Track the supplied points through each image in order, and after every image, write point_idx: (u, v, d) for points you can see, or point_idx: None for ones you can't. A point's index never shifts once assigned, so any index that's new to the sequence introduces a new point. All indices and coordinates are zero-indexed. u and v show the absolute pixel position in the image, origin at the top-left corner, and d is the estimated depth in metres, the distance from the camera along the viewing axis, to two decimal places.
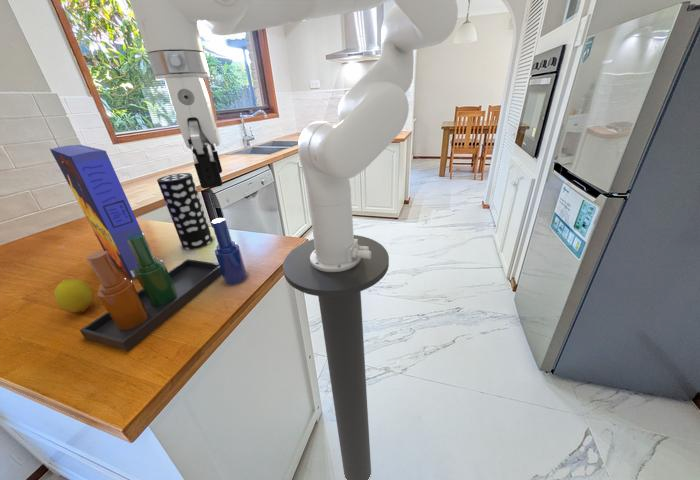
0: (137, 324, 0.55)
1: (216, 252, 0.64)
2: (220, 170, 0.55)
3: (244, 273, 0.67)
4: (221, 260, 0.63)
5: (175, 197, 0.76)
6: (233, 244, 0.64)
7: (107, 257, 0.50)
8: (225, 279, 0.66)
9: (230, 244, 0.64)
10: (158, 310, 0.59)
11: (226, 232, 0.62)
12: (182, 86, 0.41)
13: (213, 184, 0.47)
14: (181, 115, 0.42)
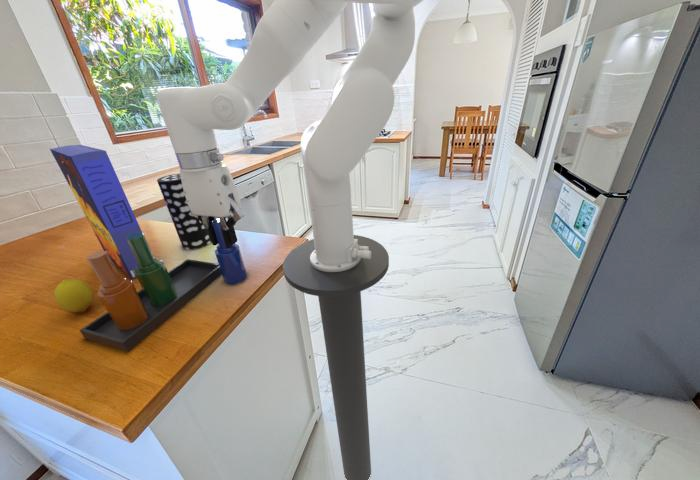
0: (137, 324, 0.55)
1: (216, 252, 0.64)
2: None
3: (244, 273, 0.67)
4: (221, 260, 0.63)
5: (175, 197, 0.76)
6: (233, 244, 0.64)
7: (107, 257, 0.50)
8: (225, 279, 0.66)
9: None
10: (158, 310, 0.59)
11: None
12: (222, 173, 0.55)
13: (233, 242, 0.64)
14: (224, 193, 0.56)
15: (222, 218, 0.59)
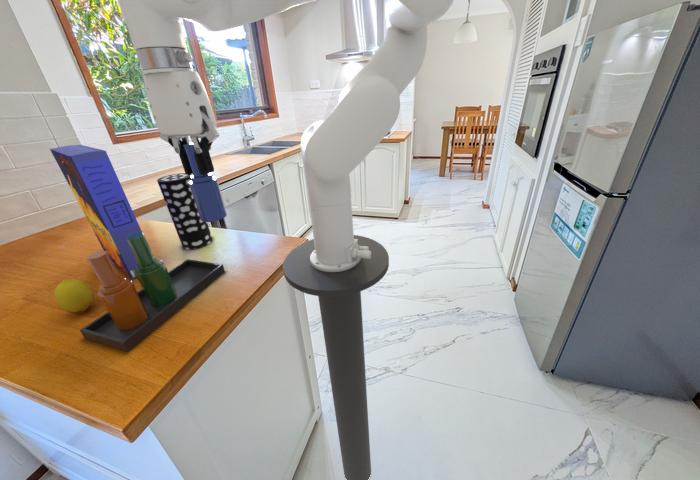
0: (137, 324, 0.55)
1: (190, 182, 0.56)
2: None
3: (223, 210, 0.60)
4: (195, 191, 0.56)
5: (175, 197, 0.76)
6: (209, 174, 0.57)
7: (107, 257, 0.50)
8: (201, 215, 0.59)
9: None
10: (158, 310, 0.59)
11: None
12: (192, 79, 0.48)
13: (209, 170, 0.56)
14: (195, 103, 0.48)
15: (194, 137, 0.52)
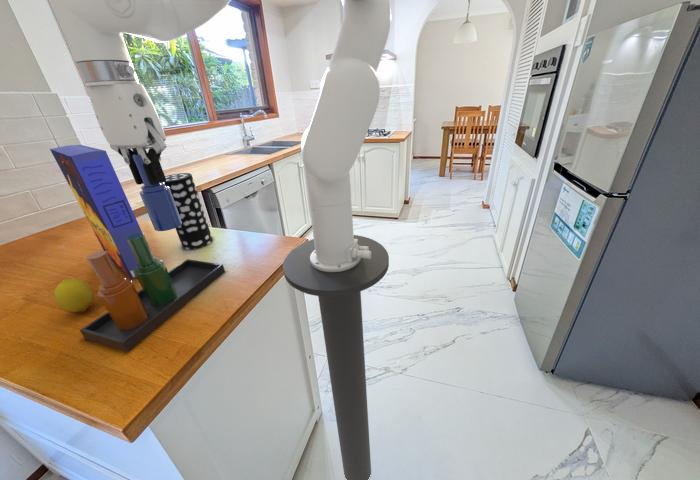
0: (137, 324, 0.55)
1: (141, 192, 0.57)
2: None
3: (177, 219, 0.60)
4: (145, 201, 0.56)
5: (175, 197, 0.76)
6: (161, 184, 0.57)
7: (107, 257, 0.50)
8: (154, 225, 0.59)
9: None
10: (158, 310, 0.59)
11: None
12: (135, 91, 0.48)
13: (160, 180, 0.56)
14: (138, 115, 0.49)
15: (141, 148, 0.52)
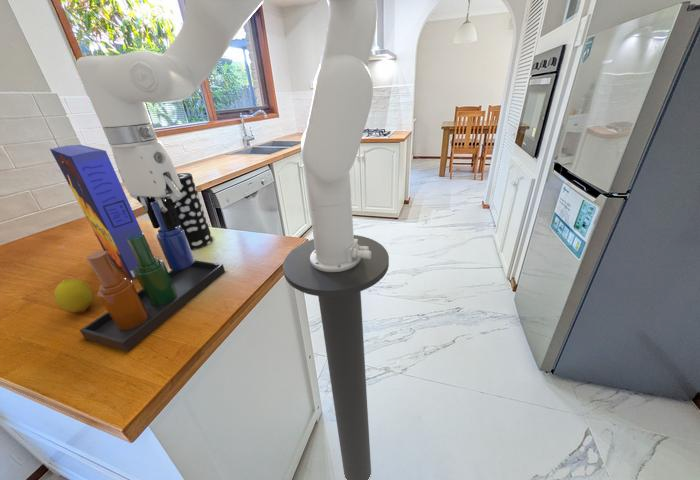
0: (137, 324, 0.55)
1: (157, 235, 0.61)
2: None
3: (190, 258, 0.65)
4: (162, 244, 0.61)
5: None
6: (176, 227, 0.62)
7: (107, 257, 0.50)
8: (169, 264, 0.63)
9: None
10: (158, 310, 0.59)
11: None
12: (155, 150, 0.53)
13: (175, 225, 0.61)
14: (158, 171, 0.53)
15: (159, 198, 0.56)
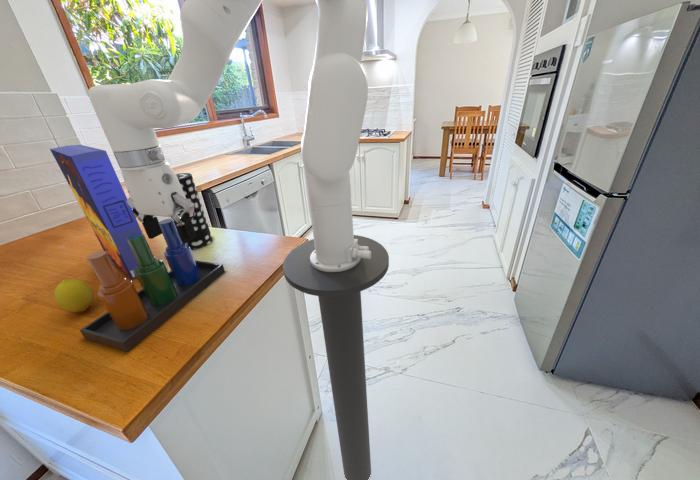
0: (137, 324, 0.55)
1: (165, 253, 0.63)
2: (161, 231, 0.65)
3: (196, 274, 0.67)
4: (169, 262, 0.63)
5: None
6: (183, 245, 0.64)
7: (107, 257, 0.50)
8: (176, 280, 0.65)
9: (179, 245, 0.63)
10: (158, 310, 0.59)
11: (174, 233, 0.61)
12: (163, 172, 0.55)
13: (191, 237, 0.61)
14: (166, 192, 0.55)
15: None
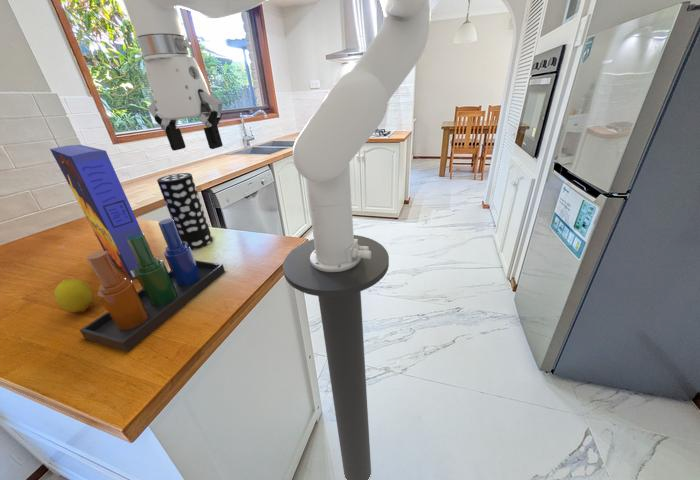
0: (137, 324, 0.55)
1: (165, 253, 0.63)
2: (184, 145, 0.62)
3: (196, 274, 0.67)
4: (169, 262, 0.63)
5: (175, 197, 0.76)
6: (183, 245, 0.64)
7: (107, 257, 0.50)
8: (176, 280, 0.65)
9: (179, 245, 0.63)
10: (158, 310, 0.59)
11: (174, 233, 0.61)
12: (190, 64, 0.52)
13: (218, 145, 0.58)
14: (193, 87, 0.52)
15: (199, 113, 0.54)
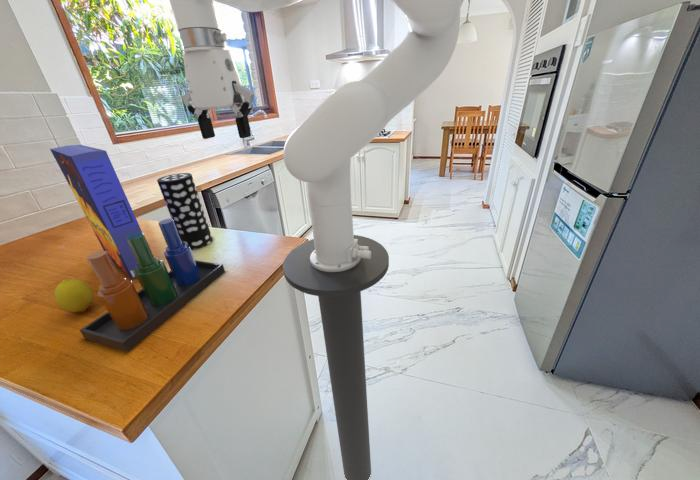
0: (137, 324, 0.55)
1: (165, 253, 0.63)
2: (214, 134, 0.65)
3: (196, 274, 0.67)
4: (169, 262, 0.63)
5: (175, 197, 0.76)
6: (183, 245, 0.64)
7: (107, 257, 0.50)
8: (176, 280, 0.65)
9: (179, 245, 0.63)
10: (158, 310, 0.59)
11: (174, 233, 0.61)
12: (226, 56, 0.55)
13: (247, 134, 0.61)
14: (228, 78, 0.55)
15: (231, 104, 0.58)
